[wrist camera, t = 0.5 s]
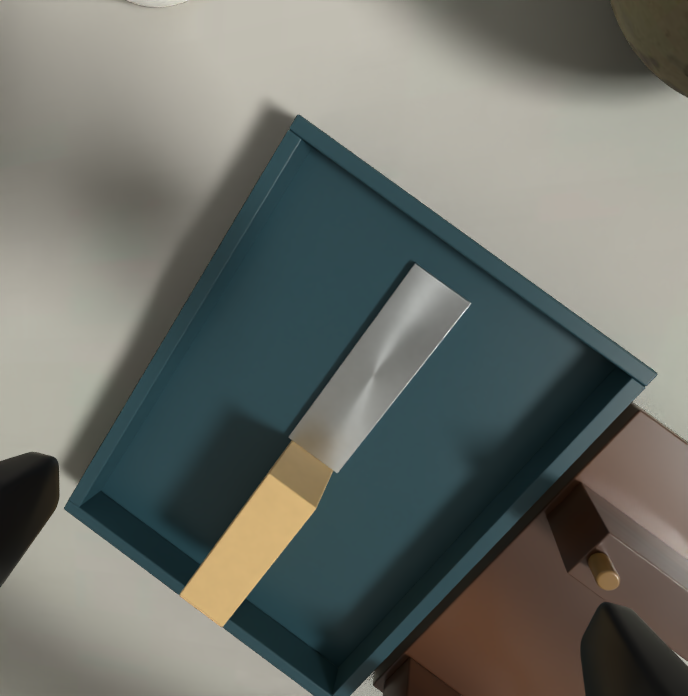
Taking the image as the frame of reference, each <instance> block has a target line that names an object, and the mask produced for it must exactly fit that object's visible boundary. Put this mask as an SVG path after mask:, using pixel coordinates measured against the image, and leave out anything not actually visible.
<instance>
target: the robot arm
mask: <svg viewBox="0 0 688 696" xmlns="http://www.w3.org/2000/svg"><path fill="white" fill-rule="evenodd" d="M58 501H59V464H58V461H57V459H56V458H54V457H53V456H49V455H45V454H41V453H37V452H28V453H25V454H22V455H19V456H15V457H12V458H9V459H6V460H3V461H0V587H1V586H2V584H3V583H4V582H5V580H6V579H7V578H8V576H9V575H10V573H11V572H12V571H13V569H14V568H15V566H16V565H17V563H18V562H19V561H20V559H21V558H22V556H23V555H24V554H25V552H26V551H27V549H28V548H29V546H30V545H31V544H32V542H33V541H34V539H35V538H36V537H37V535H38V534H39V532H40V531H41V529H42V528H43V527H44V525H45V524H46V522H47V521H48V520H49V518H50V517H51V515H52V514H53V512H54V511H55V509H56V507H57V504H58ZM580 656H581V664H582V672H583V680H584V687H585V695H586V696H688V666H687V665H686V664H685V663H684V662H683V661H682V660H681V659H680V658H679V657H678V656H677V655H676V654H675V653H674V652H673V651H672V650H671V649H670V648H669V647H668V645H667V644H666V643H665V642H664V641H663V640H662V639H661V638H660V637H659V636H658V635H657V634H656V633H655V632H654V631H653V630H652V629H651V628H650V627H649V626H648V625H647V624H646V623H645V622H644V621H643V620H642V619H641V618H640V617H639V616H638V615H637V614H636V613H635V612H634V611H633V610H632V609H630V608H628V607H625V606H621V605H617V604H614V603H610V602H603V603H601V604H600V605H599V606H598V608H597V610H596V611H595V613H594V615H593V617H592V619H591V621H590V623H589V625H588V627H587V629H586V631H585V632H584V634H583V637H582V640H581V645H580Z"/></svg>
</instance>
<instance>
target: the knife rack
mask: <svg viewBox="0 0 688 696" xmlns="http://www.w3.org/2000/svg"><path fill="white" fill-rule="evenodd" d="M603 602H610V603H614V604H617V605H621V606H625V607H628V608H630V609H632V610H633V611H634V612H635V613H636V614H637V615H638V616H639V617H640V618H641V619H642V620H643V621H644V622H645V623H646V624H647V625H648V626H649V627H650V628H651V629H652V630H653V631H654V632H655V633H656V634H657V635H658V636H659V637H660V638H661V639H662V640H663V641H664V642H665V643H666V644H667V645H668V647H669V648H670V649H671V650H673V651H674V652H676V653H677V654H678V655H680V656H681V657H682V658H684V659H685V660H686V661H688V442H687V441H685V440H684V439H683V438H681V437H680V436H679V435H677V434H676V433H674V432H673V431H672V430H670V429H669V428H668V427H666V426H665V425H663V424H662V423H661V422H659V421H658V420H656V419H655V418H654V417H652V416H651V415H650V414H648V413H647V412H645V411H644V410H643V409H641V408H640V407H639V406H637V405H636V404H634V403H633V402H631V403H630V404H629V406H628V407H627V408H626V409H625V410H624V411H623V412H622V413H621V414H620V415H619V416H618V417H617V418H616V419H615V420H614V421H613V422H612V423H611V424H610V425H609V426H608V427H607V428H606V429H605V431H604V432H603V433H602V434H601V435H600V436H599V437H598V438H597V439H596V440H595V441H594V442H593V443H592V444H591V445H590V446H589V447H588V448H587V449H586V450H585V451H584V452H583V453H582V454H581V456H580V457H579V458H578V459H577V460H576V461H575V462H574V463H573V464H572V465H571V466H570V467H569V468H568V469H567V470H566V471H565V472H564V473H563V474H562V475H561V476H560V477H559V478H558V480H557V481H556V482H555V483H554V484H553V485H552V486H551V487H550V488H549V489H548V490H547V491H546V492H545V493H544V494H543V495H542V496H541V497H540V498H539V499H538V500H537V501H536V502H535V503H534V505H533V506H532V507H531V508H530V509H529V510H528V511H527V512H526V513H525V514H524V515H523V516H522V517H521V518H520V519H519V520H518V521H517V522H516V523H515V524H514V525H513V526H512V527H511V528H510V530H509V531H508V532H507V533H506V534H505V535H504V536H503V537H502V538H501V539H500V540H499V541H498V542H497V543H496V544H495V545H494V546H493V547H492V548H491V549H490V550H489V551H488V552H487V553H486V555H485V556H484V557H483V558H482V559H481V560H480V561H479V562H478V563H477V564H476V565H475V566H474V567H473V568H472V569H471V570H470V571H469V572H468V573H467V574H466V575H465V576H464V577H463V579H462V580H461V581H460V582H459V583H458V584H457V585H456V586H455V587H454V588H453V589H452V590H451V591H450V592H449V593H448V594H447V595H446V596H445V597H444V598H443V599H442V600H441V601H440V602H439V604H438V605H437V606H436V607H435V608H434V609H433V610H432V611H431V612H430V613H429V614H428V615H427V616H426V617H425V618H424V619H423V620H422V621H421V622H420V623H419V624H418V625H417V626H416V627H415V629H414V630H413V631H412V632H411V633H410V634H409V635H408V636H407V637H406V638H405V639H404V640H403V641H402V642H401V643H400V644H399V645H398V646H397V647H396V648H395V649H394V650H393V651H392V652H391V654H390V655H389V656H388V657H387V658H386V659H385V660H384V661H383V662H382V663H381V664H380V665H379V666H378V667H377V668H376V669H375V673H374V679H373V686H375V687H376V688H377V689H379V690H380V691H381V692H383V696H586V695H585V687H584V680H583V672H582V664H581V656H580V645H581V640H582V637H583V634H584V632H585V631H586V629H587V627H588V625H589V623H590V621H591V619H592V617H593V615H594V613H595V611H596V610H597V608H598V606H599V605H600V604H601V603H603Z"/></svg>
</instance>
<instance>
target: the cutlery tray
mask: <svg viewBox="0 0 688 696" xmlns="http://www.w3.org/2000/svg"><path fill="white" fill-rule="evenodd" d="M415 263H417V264H418V265H420V266H421V267H423V268H424V269H425V270H427V271H428V272H429V273H431V274H432V275H434V276H435V277H436V278H438V279H439V280H440V281H442V282H443V283H445V284H446V285H447V286H449V287H450V288H452V289H453V290H454V291H456V292H457V293H458V294H460V295H461V296H463V297H464V298H465V299H467V300H468V301H469V302H470V303H471V304H470V306H469V307H468V308H467V310H466V311H465V312H464V313H463V315H462V316H461V317H460V318H459V320H458V321H457V322H456V324H455V325H454V326H453V327H452V329H451V330H450V331H449V332H448V334H447V335H446V336H445V338H444V339H443V340H442V341H441V343H440V344H439V345H438V346H437V348H436V349H435V350H434V352H433V353H432V354H431V355H430V357H429V358H428V359H427V360H426V362H425V363H424V364H423V365H422V367H421V368H420V369H419V371H418V372H417V373H416V374H415V376H414V377H413V378H412V379H411V381H410V382H409V383H408V385H407V386H406V387H405V388H404V390H403V391H402V392H401V393H400V395H399V396H398V397H397V399H396V400H395V401H394V402H393V404H392V405H391V406H390V407H389V409H388V410H387V411H386V412H385V414H384V415H383V416H382V418H381V419H380V420H379V421H378V423H377V424H376V425H375V426H374V428H373V429H372V430H371V432H370V433H369V434H368V435H367V437H366V438H365V439H364V440H363V442H362V443H361V444H360V446H359V447H358V448H357V449H356V451H355V452H354V453H353V454H352V456H351V457H350V458H349V460H348V461H347V462H346V463H345V465H344V466H343V467H342V468H341V470H340V471H339V472H338V473H336V472H335V471H333V472H332V475H331V477H330V479H329V481H328V484H327V486H326V488H325V490H324V492H323V495H322V497H321V499H320V501H319V504H318V506H317V508H316V510H315V511H314V512H313V514H312V515H311V516H310V517H309V519H308V520H307V521H306V522H305V524H304V525H303V526H302V528H301V529H300V530H299V531H298V533H297V534H296V535H295V536H294V538H293V539H292V540H291V541H290V543H289V544H288V545H287V546H286V548H285V549H284V550H283V552H282V553H281V554H280V555H279V557H278V558H277V559H276V560H275V562H274V563H273V564H272V565H271V567H270V568H269V569H268V570H267V572H266V573H265V574H264V575H263V577H262V578H261V579H260V581H259V582H258V583H257V584H256V586H255V587H254V588H253V589H252V591H251V592H250V593H249V594H248V596H247V597H246V598H245V599H244V601H243V602H242V603H241V605H240V606H239V607H238V608H237V610H236V611H235V612H234V613H233V615H232V616H231V617H230V618H229V620H228V621H227V622H226V623H225V625H224V626H223V628H224V629H225V630H227V631H228V632H229V633H231V634H232V635H233V636H235V637H236V638H237V639H239V640H240V641H241V642H243V643H244V644H245V645H247V646H248V647H249V648H251V649H252V650H253V651H255V652H256V653H258V654H259V655H260V656H262V657H263V658H264V659H266V660H267V661H268V662H270V663H271V664H272V665H274V666H275V667H276V668H278V669H279V670H280V671H282V672H283V673H284V674H286V675H287V676H288V677H290V678H291V679H292V680H294V681H295V682H296V683H298V684H299V685H300V686H302V687H303V688H304V689H306V690H307V691H308V692H310V693H311V694H312V695H314V696H350V695H351V694H352V693H353V692H354V691H355V690H356V689H357V688H358V687H359V686H360V685H361V684H362V683H363V682H364V681H365V680H366V679H367V677H368V676H369V675H370V674H371V673H372V672H373V671H374V670H375V669H376V668H377V667H378V666H379V665H380V664H381V663H382V662H383V661H384V660H385V659H386V658H387V657H388V656H389V655H390V654H391V652H392V651H393V650H394V649H395V648H396V647H397V646H398V645H399V644H400V643H401V642H402V641H403V640H404V639H405V638H406V637H407V636H408V635H409V634H410V633H411V632H412V631H413V630H414V629H415V627H416V626H417V625H418V624H419V623H420V622H421V621H422V620H423V619H424V618H425V617H426V616H427V615H428V614H429V613H430V612H431V611H432V610H433V609H434V608H435V607H436V606H437V605H438V604H439V602H440V601H441V600H442V599H443V598H444V597H445V596H446V595H447V594H448V593H449V592H450V591H451V590H452V589H453V588H454V587H455V586H456V585H457V584H458V583H459V582H460V581H461V580H462V579H463V577H464V576H465V575H466V574H467V573H468V572H469V571H470V570H471V569H472V568H473V567H474V566H475V565H476V564H477V563H478V562H479V561H480V560H481V559H482V558H483V557H484V556H485V555H486V553H487V552H488V551H489V550H490V549H491V548H492V547H493V546H494V545H495V544H496V543H497V542H498V541H499V540H500V539H501V538H502V537H503V536H504V535H505V534H506V533H507V532H508V531H509V530H510V528H511V527H512V526H513V525H514V524H515V523H516V522H517V521H518V520H519V519H520V518H521V517H522V516H523V515H524V514H525V513H526V512H527V511H528V510H529V509H530V508H531V507H532V506H533V505H534V503H535V502H536V501H537V500H538V499H539V498H540V497H541V496H542V495H543V494H544V493H545V492H546V491H547V490H548V489H549V488H550V487H551V486H552V485H553V484H554V483H555V482H556V481H557V480H558V478H559V477H560V476H561V475H562V474H563V473H564V472H565V471H566V470H567V469H568V468H569V467H570V466H571V465H572V464H573V463H574V462H575V461H576V460H577V459H578V458H579V457H580V456H581V454H582V453H583V452H584V451H585V450H586V449H587V448H588V447H589V446H590V445H591V444H592V443H593V442H594V441H595V440H596V439H597V438H598V437H599V436H600V435H601V434H602V433H603V432H604V431H605V429H606V428H607V427H608V426H609V425H610V424H611V423H612V422H613V421H614V420H615V419H616V418H617V417H618V416H619V415H620V414H621V413H622V412H623V411H624V410H625V409H626V408H627V407H628V406H629V404H630V403H631V402H632V401H633V400H634V399H635V398H636V397H637V396H638V395H639V394H640V393H641V392H642V391H643V390H644V389H645V386H647V385H648V384H649V383H650V382H651V381H652V380H653V379H654V378H655V377H656V376H657V372H655V371H654V370H653V369H651V368H650V367H648V366H647V365H646V364H644V363H643V362H641V361H640V360H639V359H637V358H636V357H635V356H633V355H632V354H630V353H629V352H628V351H626V350H625V349H623V348H622V347H621V346H619V345H618V344H617V343H615V342H614V341H612V340H611V339H610V338H608V337H607V336H605V335H604V334H603V333H601V332H600V331H599V330H597V329H596V328H594V327H593V326H592V325H590V324H589V323H587V322H586V321H585V320H583V319H582V318H581V317H579V316H578V315H576V314H575V313H574V312H572V311H571V310H569V309H568V308H567V307H565V306H564V305H562V304H561V303H560V302H558V301H557V300H556V299H554V298H553V297H551V296H550V295H549V294H547V293H546V292H544V291H543V290H542V289H540V288H539V287H538V286H536V285H535V284H533V283H532V282H531V281H529V280H528V279H526V278H525V277H524V276H522V275H521V274H520V273H518V272H517V271H515V270H514V269H513V268H511V267H510V266H508V265H507V264H506V263H504V262H503V261H502V260H500V259H499V258H497V257H496V256H495V255H493V254H492V253H490V252H489V251H488V250H486V249H485V248H484V247H482V246H481V245H479V244H478V243H477V242H475V241H474V240H472V239H471V238H470V237H468V236H467V235H466V234H464V233H463V232H461V231H460V230H459V229H457V228H456V227H454V226H453V225H452V224H450V223H449V222H448V221H446V220H445V219H443V218H442V217H441V216H439V215H438V214H436V213H435V212H434V211H432V210H431V209H430V208H428V207H427V206H425V205H424V204H423V203H421V202H420V201H418V200H417V199H416V198H414V197H413V196H412V195H410V194H409V193H407V192H406V191H405V190H403V189H402V188H400V187H399V186H398V185H396V184H395V183H393V182H392V181H391V180H389V179H388V178H387V177H385V176H384V175H382V174H381V173H380V172H378V171H377V170H375V169H374V168H373V167H371V166H370V165H369V164H367V163H366V162H364V161H363V160H362V159H360V158H359V157H357V156H356V155H355V154H353V153H352V152H351V151H349V150H348V149H346V148H345V147H344V146H342V145H341V144H339V143H338V142H337V141H335V140H334V139H333V138H331V137H330V136H328V135H327V134H326V133H324V132H323V131H321V130H320V129H319V128H317V127H316V126H315V125H313V124H312V123H310V122H309V121H308V120H306V119H305V118H303V117H302V116H301V115H297V116H296V118H295V119H294V121H293V123H292V124H291V126H290V130H288V131H287V132H286V134H285V136H284V138H283V139H282V141H281V143H280V144H279V146H278V148H277V149H276V151H275V153H274V154H273V156H272V158H271V159H270V161H269V163H268V164H267V166H266V168H265V170H264V171H263V173H262V175H261V176H260V178H259V180H258V181H257V183H256V185H255V186H254V188H253V190H252V191H251V193H250V195H249V197H248V198H247V200H246V202H245V203H244V205H243V207H242V208H241V210H240V212H239V213H238V215H237V217H236V218H235V220H234V222H233V223H232V225H231V227H230V229H229V230H228V232H227V234H226V235H225V237H224V239H223V240H222V242H221V244H220V245H219V247H218V249H217V250H216V252H215V254H214V256H213V257H212V259H211V261H210V262H209V264H208V266H207V267H206V269H205V271H204V272H203V274H202V276H201V277H200V279H199V281H198V282H197V284H196V286H195V288H194V289H193V291H192V293H191V294H190V296H189V298H188V299H187V301H186V303H185V304H184V306H183V308H182V309H181V311H180V313H179V315H178V316H177V318H176V320H175V321H174V323H173V325H172V326H171V328H170V330H169V331H168V333H167V335H166V336H165V338H164V340H163V341H162V343H161V345H160V347H159V348H158V350H157V352H156V353H155V355H154V357H153V358H152V360H151V362H150V363H149V365H148V367H147V368H146V370H145V372H144V374H143V375H142V377H141V379H140V380H139V382H138V384H137V385H136V387H135V389H134V390H133V392H132V394H131V395H130V397H129V399H128V400H127V402H126V404H125V406H124V407H123V409H122V411H121V412H120V414H119V416H118V417H117V419H116V421H115V422H114V424H113V426H112V427H111V429H110V431H109V433H108V434H107V436H106V438H105V439H104V441H103V443H102V444H101V446H100V448H99V449H98V451H97V453H96V454H95V456H94V458H93V459H92V461H91V463H90V465H89V466H88V468H87V470H86V471H85V473H84V475H83V476H82V478H81V480H80V481H79V483H78V485H77V486H76V488H75V490H74V492H73V493H72V495H71V497H70V498H69V500H68V502H67V504H66V505H65V507H64V509H65V510H66V511H67V512H69V513H70V514H71V515H73V516H74V517H75V518H77V519H78V520H79V521H81V522H82V523H83V524H85V525H86V526H87V527H89V528H90V529H91V530H93V531H94V532H95V533H97V534H98V535H99V536H101V537H102V538H103V539H105V540H106V541H108V542H109V543H110V544H112V545H113V546H114V547H116V548H117V549H118V550H120V551H121V552H122V553H124V554H125V555H126V556H128V557H129V558H130V559H132V560H133V561H134V562H136V563H137V564H138V565H140V566H141V567H142V568H144V569H145V570H146V571H148V572H149V573H150V574H152V575H153V576H154V577H156V578H157V579H158V580H160V581H161V582H162V583H164V584H165V585H166V586H168V587H169V588H170V589H172V590H173V591H174V592H176V593H177V594H178V595H180V593H181V591H182V590H183V589H184V587H185V586H186V584H187V583H188V582H189V580H190V579H191V577H192V576H193V575H194V573H195V572H196V570H197V569H198V568H199V566H200V565H201V564H202V562H203V561H204V559H205V558H206V557H207V555H208V554H209V552H210V551H211V550H212V548H213V547H214V546H215V544H216V543H217V541H218V540H219V539H220V537H221V536H222V535H223V533H224V532H225V531H226V529H227V528H228V526H229V525H230V524H231V522H232V521H233V520H234V518H235V517H236V516H237V514H238V513H239V511H240V510H241V509H242V507H243V506H244V505H245V503H246V502H247V501H248V499H249V498H250V496H251V495H252V494H253V492H254V491H255V490H256V488H257V487H258V486H259V484H260V483H261V481H262V480H263V479H264V477H265V476H266V475H267V473H268V472H269V471H270V469H271V468H272V466H273V465H274V464H275V462H276V461H277V460H278V458H279V457H280V456H281V454H282V453H283V451H284V450H285V449H286V447H287V446H288V445H289V443H290V442H291V441H292V440H291V439H290V438H289V435H290V434H291V433H292V431H293V430H294V428H295V427H296V426H297V424H298V423H299V422H300V420H301V419H302V417H303V416H304V415H305V413H306V412H307V411H308V409H309V408H310V407H311V405H312V404H313V402H314V401H315V400H316V398H317V397H318V396H319V394H320V393H321V391H322V390H323V389H324V387H325V386H326V385H327V383H328V382H329V380H330V379H331V378H332V376H333V375H334V374H335V372H336V371H337V369H338V368H339V367H340V365H341V364H342V363H343V361H344V360H345V358H346V357H347V356H348V354H349V353H350V352H351V350H352V349H353V348H354V346H355V345H356V343H357V342H358V341H359V339H360V338H361V337H362V335H363V334H364V332H365V331H366V330H367V328H368V327H369V326H370V324H371V323H372V321H373V320H374V319H375V317H376V316H377V315H378V313H379V312H380V310H381V309H382V308H383V306H384V305H385V304H386V302H387V301H388V300H389V298H390V297H391V295H392V294H393V293H394V291H395V290H396V289H397V287H398V286H399V284H400V283H401V282H402V280H403V279H404V278H405V276H406V275H407V273H408V272H409V271H410V269H411V268H412V267H413V265H414V264H415Z"/></svg>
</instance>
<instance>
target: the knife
mask: <svg viewBox="0 0 688 696" xmlns="http://www.w3.org/2000/svg"><path fill="white" fill-rule="evenodd" d="M470 304H471V303H470V302H469V301H468V300H467V299H465V298H464V297H463V296H461V295H460V294H458V293H457V292H456V291H454V290H453V289H452V288H450V287H449V286H447V285H446V284H445V283H443V282H442V281H440V280H439V279H438V278H436V277H435V276H434V275H432V274H431V273H429V272H428V271H427V270H425V269H424V268H423V267H421V266H420V265H418V264H417V263H415V264H414V265H413V267H412V268H411V269H410V271H409V272H408V273H407V275H406V276H405V278H404V279H403V280H402V282H401V283H400V284H399V286H398V287H397V289H396V290H395V291H394V293H393V294H392V295H391V297H390V298H389V300H388V301H387V302H386V304H385V305H384V306H383V308H382V309H381V310H380V312H379V313H378V315H377V316H376V317H375V319H374V320H373V321H372V323H371V324H370V326H369V327H368V328H367V330H366V331H365V332H364V334H363V335H362V337H361V338H360V339H359V341H358V342H357V343H356V345H355V346H354V348H353V349H352V350H351V352H350V353H349V354H348V356H347V357H346V358H345V360H344V361H343V363H342V364H341V365H340V367H339V368H338V369H337V371H336V372H335V374H334V375H333V376H332V378H331V379H330V380H329V382H328V383H327V385H326V386H325V387H324V389H323V390H322V391H321V393H320V394H319V396H318V397H317V398H316V400H315V401H314V402H313V404H312V405H311V407H310V408H309V409H308V411H307V412H306V413H305V415H304V416H303V417H302V419H301V420H300V422H299V423H298V424H297V426H296V427H295V428H294V430H293V431H292V433H291V434H290V435H289V438H290V439H291V440H292V441H291V442H290V443H289V445H288V446H287V447H286V449H285V450H284V451H283V453H282V454H281V456H280V457H279V458H278V460H277V461H276V462H275V464H274V465H273V466H272V468H271V469H270V471H269V472H268V473H267V475H266V476H265V477H264V479H263V480H262V481H261V483H260V484H259V486H258V487H257V488H256V490H255V491H254V492H253V494H252V495H251V496H250V498H249V499H248V501H247V502H246V503H245V505H244V506H243V507H242V509H241V510H240V511H239V513H238V514H237V516H236V517H235V518H234V520H233V521H232V522H231V524H230V525H229V526H228V528H227V529H226V531H225V532H224V533H223V535H222V536H221V537H220V539H219V540H218V541H217V543H216V544H215V546H214V547H213V548H212V550H211V551H210V552H209V554H208V555H207V557H206V558H205V559H204V561H203V562H202V564H201V565H200V566H199V568H198V569H197V570H196V572H195V573H194V575H193V576H192V577H191V579H190V580H189V582H188V583H187V584H186V586H185V587H184V589H183V590H182V591H181V593H180V597H182V598H183V599H184V600H186V601H187V602H188V603H190V604H191V605H192V606H194V607H195V608H196V609H198V610H199V611H200V612H202V613H203V614H204V615H206V616H207V617H208V618H210V619H211V620H212V621H214V622H215V623H216V624H218V625H219V626H220V627H223V626H224V625H225V623H226V622H227V621H228V620H229V618H230V617H231V616H232V615H233V613H234V612H235V611H236V610H237V608H238V607H239V606H240V605H241V603H242V602H243V601H244V599H245V598H246V597H247V596H248V594H249V593H250V592H251V591H252V589H253V588H254V587H255V586H256V584H257V583H258V582H259V581H260V579H261V578H262V577H263V575H264V574H265V573H266V572H267V570H268V569H269V568H270V567H271V565H272V564H273V563H274V562H275V560H276V559H277V558H278V557H279V555H280V554H281V553H282V552H283V550H284V549H285V548H286V546H287V545H288V544H289V543H290V541H291V540H292V539H293V538H294V536H295V535H296V534H297V533H298V531H299V530H300V529H301V528H302V526H303V525H304V524H305V522H306V521H307V520H308V519H309V517H310V516H311V515H312V514H313V512H314V511H315V510H316V508H317V506H318V504H319V501H320V499H321V497H322V495H323V492H324V490H325V488H326V486H327V484H328V481H329V479H330V477H331V475H332V472H333V471H335V472H336V473H338V472H339V471H340V470H341V468H342V467H343V466H344V465H345V463H346V462H347V461H348V460H349V458H350V457H351V456H352V454H353V453H354V452H355V451H356V449H357V448H358V447H359V446H360V444H361V443H362V442H363V440H364V439H365V438H366V437H367V435H368V434H369V433H370V432H371V430H372V429H373V428H374V426H375V425H376V424H377V423H378V421H379V420H380V419H381V418H382V416H383V415H384V414H385V412H386V411H387V410H388V409H389V407H390V406H391V405H392V404H393V402H394V401H395V400H396V399H397V397H398V396H399V395H400V393H401V392H402V391H403V390H404V388H405V387H406V386H407V385H408V383H409V382H410V381H411V379H412V378H413V377H414V376H415V374H416V373H417V372H418V371H419V369H420V368H421V367H422V365H423V364H424V363H425V362H426V360H427V359H428V358H429V357H430V355H431V354H432V353H433V352H434V350H435V349H436V348H437V346H438V345H439V344H440V343H441V341H442V340H443V339H444V338H445V336H446V335H447V334H448V332H449V331H450V330H451V329H452V327H453V326H454V325H455V324H456V322H457V321H458V320H459V318H460V317H461V316H462V315H463V313H464V312H465V311H466V310H467V308H468V307H469V306H470Z"/></svg>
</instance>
